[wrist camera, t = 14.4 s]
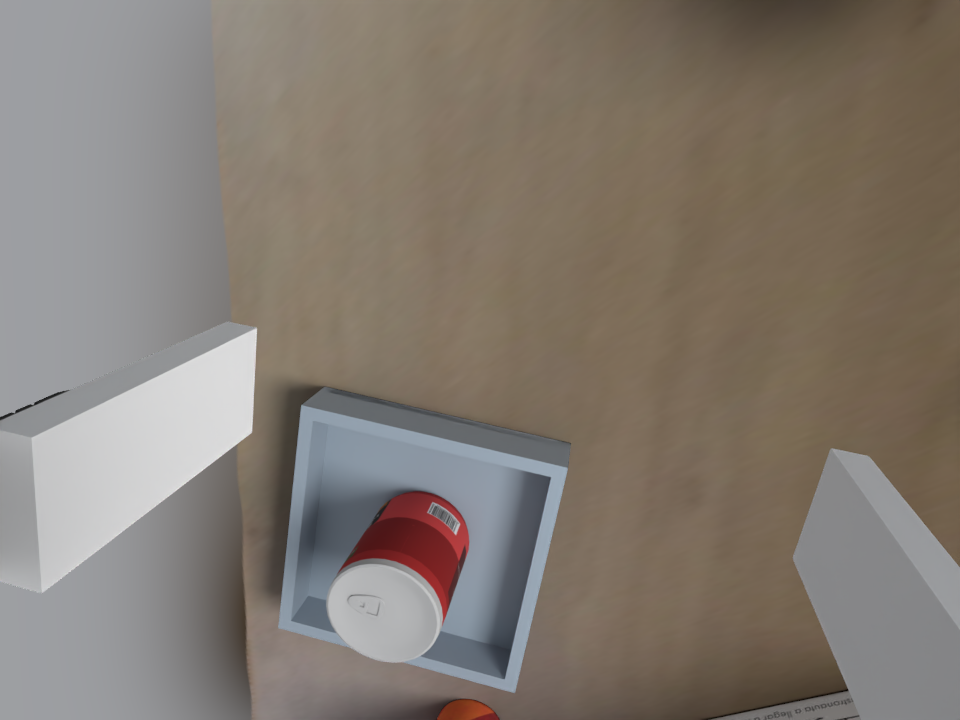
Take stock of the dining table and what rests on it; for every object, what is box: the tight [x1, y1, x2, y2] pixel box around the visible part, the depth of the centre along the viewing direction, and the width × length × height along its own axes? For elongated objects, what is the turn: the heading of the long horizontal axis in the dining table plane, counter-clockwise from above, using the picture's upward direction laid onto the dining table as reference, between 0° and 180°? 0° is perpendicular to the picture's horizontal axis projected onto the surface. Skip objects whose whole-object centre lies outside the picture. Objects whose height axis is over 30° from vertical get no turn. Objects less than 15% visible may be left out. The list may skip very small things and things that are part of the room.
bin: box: [278, 387, 571, 693], centre depth 54 cm, size 20×20×4 cm
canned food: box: [326, 491, 469, 663], centre depth 50 cm, size 8×8×11 cm
